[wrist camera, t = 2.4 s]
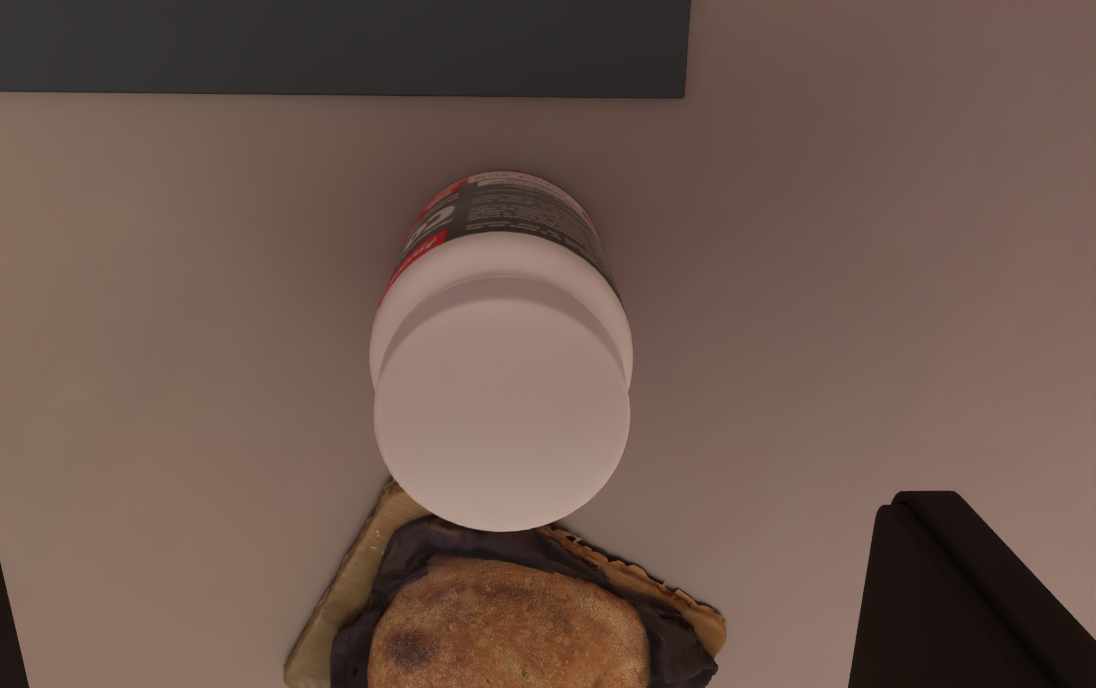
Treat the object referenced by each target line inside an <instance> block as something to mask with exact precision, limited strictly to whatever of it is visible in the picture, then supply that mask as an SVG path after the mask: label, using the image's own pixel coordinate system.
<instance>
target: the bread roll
mask: <svg viewBox="0 0 1096 688" xmlns="http://www.w3.org/2000/svg"><path fill="white" fill-rule="evenodd" d="M392 480H393V481H392V482H390V483H388V484H387V485H386V486H385V488H384V491H385V493H384V494H383V493H381V499H380V502H379V503H378V504H377V506H376V507H377V508H376V509H375V513H374V516H372V517H369V519H368V520H367V522H366V525H365V528H363V529H362V530H361V532H360V534H359V540H358V539H356V543H355V545H354V546H353V548H352V549H351V551H350V554H347V555H346V556H345V558H344V560H343V562H342V564H341V567H340V569H339V573H337V576H336V579H335V580H334V581H333V585H332V586H331V587H330V588H329V589H328V590H327V592H326V593H325V594H324V598H323V599H322V600H321V601H320V603H319V605H318V607H317V609H316V610H315V615H313V616H312V618H311V620H310V622H309V624H308V626H307V628H306V629H305V630H304V633H303V634H302V635H301V637H300V638H299V640H298V642H297V645H296V646H295V647H294V648H295V651H294V652H293V653H292V654H291V655H290V657H289V661H288V662H287V663H286V664H284V665H283V667H284V668H283V669H284V670H283V671H284V681H285V683H286V685H287V686H288V687H289V688H705V686H706V685H708V683H709V681H710V680H711V678H712V675H715V674H716V672H717V671H718V665H717V664H716V662H715V661H714V658H715V657H716V655H717V654H718V653H719V651H720V650H721V648H722V647H723V645H724V644H725V641H726V627H725V622H726V620H725V621H723V620H722V617H721V616H720V615H719V614H717V613H715V612H714V610H713V609H712V608H709V607H706V606H704V605H697V604H696V603H695V602H694V600H693V599H692V598H691V597H689V596H687V595H685V594H684V593H683V592H682V591H681V590H679V589H678V590H676V591H675V592H674V593H673V592H671V591H670V590H668V589H666V587H665V582H666V580H665V582H664V584H663V585H661V584H659V583H657V582H655V581H653V580H651V579H649V578H648V576H647V575H646V573H645V572H644V570H643V569H641V568H639V567H637V566H635V565H630V566H625V564H624V563H623V562H621V561H619V560H618V561H614V562H608V560H607V558H606V557H605V556H603V555H602V554H600V553H598V552H591V548H589V547H587V546H584V547H583V546H581V545H579V544H578V543H577V541H579V540H582V539H581V538H578V537H576V536H574V535H573V536H574V537H575V538H576V539H575V540H574V542H571V541H570V540H568V539H567V538H566V537H565V536H570V535H572V534H569V533H567V532H565V531H562V530H559V529H556V530H554V531H552V530H551V526H547V525H543V526H539V527H535V528H531V529H527V530H520V531H506V532H495V531H484V530H479V529H472V528H468V527H465V526H462V525H458V524H456V523H453V522H450V521H448V520H445V519H443V518H441V517H439V516H437V515H435V514H434V513H432V512H430V511H428V510H427V509H425V508H424V507H422V506H421V505H420V504H418V503H417V502H416V501H415V500H413V499H412V498H411V497H410V496H409V495H408V494H407V493H406V492H405V490H404V489H403V488H402V487H400V485H399V483H398V482H397V481H396V480H395V479H394V478H393V479H392Z"/></svg>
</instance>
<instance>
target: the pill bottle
mask: <svg viewBox="0 0 1096 688" xmlns="http://www.w3.org/2000/svg"><path fill="white" fill-rule="evenodd" d="M369 364H370V373H371V379H372V383H373V387H374V390H375V399H374V430H375V435H376V439H377V443H378V447H379V450H380V453H381V455H382V457H383V460H384V462H385V464H386V465H387V467H388V469H389V471H390V473H391V474H392V476H393V477H394V479H395V480H396V481H397V482H398V483H399V485H400V487H402V488H403V489H404V490H405V492H406V493H407V494H408V495H409V496H410V497H411V498H412V499H413V500H415V501H416V502H417V503H418V504H420V505H421V506H422V507H424V508H425V509H427V510H428V511H430V512H432V513H434V514H435V515H437V516H439V517H441V518H443V519H445V520H448V521H450V522H453V523H456V524H458V525H462V526H465V527H468V528H472V529H479V530H484V531H495V532H506V531H520V530H527V529H531V528H535V527H539V526H543V525H546V524H548V523H551V522H554V521H556V520H558V519H561V518H563V517H565V516H567V515H569V514H571V513H572V512H574V511H575V510H576V509H578V508H580V507H581V506H583V505H584V504H585V503H586V502H588V501H589V500H590V499H591V498H592V497H594V495H595V494H596V493H597V492H598V491H599V490H600V489H601V488H602V487H603V486H604V485H605V483H606V482H607V481H608V480H609V478H610V477H611V475H612V473H613V472H614V470H615V469H616V467H617V465H618V463H619V461H620V459H621V457H622V454H623V451H624V449H625V446H626V442H627V438H628V433H629V426H630V403H629V396H628V390H629V386H630V382H631V376H632V368H633V347H632V339H631V332H630V327H629V323H628V319H627V315H626V312H625V309H624V307H623V305H622V301H621V298H620V296H619V293H618V290H617V287H616V284H615V282H614V279H613V276H612V273H611V270H610V267H609V264H608V262H607V259H606V256H605V253H604V250H603V247H602V244H601V242H600V239H599V236H598V234H597V232H596V229H595V227H594V225H593V223H592V222H591V220H590V218H589V217H588V215H587V214H586V213H585V211H584V210H583V209H582V208H581V207H580V205H579V204H578V203H577V202H576V201H575V200H574V199H573V198H571V197H570V196H569V195H568V194H567V193H565V192H564V191H562V190H561V189H560V188H558V187H556V186H555V185H553V184H551V183H549V182H547V181H545V180H543V179H540V178H538V177H535V176H532V175H528V174H524V173H518V172H511V171H496V172H487V173H482V174H478V175H474V176H470V177H468V178H465V179H463V180H461V181H458V182H456V183H454V184H452V185H451V186H449V187H448V188H446V189H445V190H443V191H442V192H441V193H439V194H438V195H437V196H436V197H435V198H434V199H433V200H432V201H431V202H430V203H429V204H428V205H427V206H426V207H425V209H424V210H423V211H422V212H421V214H420V215H419V217H418V218H417V220H416V222H415V223H414V225H413V227H412V229H411V231H410V233H409V236H408V238H407V240H406V243H405V246H404V248H403V251H402V253H401V255H400V258H399V260H398V263H397V265H396V267H395V270H394V273H393V274H392V277H391V279H390V282H389V284H388V286H387V288H386V291H385V293H384V295H383V298H382V299H381V301H380V304H379V306H378V310H377V312H376V315H375V318H374V322H373V328H372V334H371V341H370V353H369Z"/></svg>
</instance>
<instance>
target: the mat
mask: <svg viewBox="0 0 1096 688" xmlns="http://www.w3.org/2000/svg"><path fill="white" fill-rule="evenodd" d="M690 4H691V0H0V92H94V93H190V94H287V95H383V96H479V97H576V98H672V99H682V98H684V96H685V81H686V66H687V50H688V35H689V19H690Z"/></svg>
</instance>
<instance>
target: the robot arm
mask: <svg viewBox="0 0 1096 688" xmlns="http://www.w3.org/2000/svg"><path fill="white" fill-rule="evenodd" d="M0 688H29V685H28V680H27V676H26V672H25V667H24V663H23V659H22V654H21V650H20V646H19V641H18V637H17V633H16V628H15V624H14V620H13V615H12V611H11V607H10V602H9V598H8V594H7V589H6V585H5V581H4V576H3V572H2V568H1V563H0ZM848 688H1096V640H1095V639H1094V638H1093V637H1092V636H1091V635H1090V634H1089V633H1088V632H1087V631H1086V630H1085V629H1084V627H1083V626H1082V625H1081V624H1080V623H1079V622H1078V621H1077V620H1076V619H1075V618H1074V617H1073V616H1072V615H1071V614H1070V613H1069V611H1068V610H1067V609H1066V608H1065V607H1064V606H1063V605H1062V604H1061V603H1060V602H1059V601H1058V600H1057V599H1056V598H1055V596H1054V595H1053V594H1052V593H1051V592H1050V591H1049V590H1048V589H1047V588H1046V587H1045V586H1044V585H1043V584H1042V583H1041V582H1040V580H1039V579H1038V578H1037V577H1036V576H1035V575H1034V574H1033V573H1032V572H1031V571H1030V570H1029V569H1028V568H1027V567H1026V565H1025V564H1024V563H1023V562H1022V561H1021V560H1020V559H1019V558H1018V557H1017V556H1016V555H1015V554H1014V553H1013V552H1012V550H1011V549H1010V548H1009V547H1008V546H1007V545H1006V544H1005V543H1004V542H1003V541H1002V540H1001V539H1000V538H999V537H998V536H997V534H996V533H995V532H994V531H993V530H992V529H991V528H990V527H989V526H988V525H987V524H986V523H985V522H984V521H983V519H982V518H981V517H980V516H979V515H978V514H977V513H976V512H975V511H974V510H973V509H972V508H971V507H970V506H969V505H968V503H967V502H966V501H965V500H964V499H963V498H962V497H961V496H960V495H959V494H957V493H956V492H955V491H900V492H899V493H897V494H896V495H895V497H894V499H893V500H892V503H891V505H882V506H881V507H880V508H879V509H878V511H877V514H876V518H875V524H874V530H873V536H872V542H871V548H870V555H869V561H868V567H867V573H866V579H865V586H864V592H863V598H862V604H861V611H860V617H859V623H858V629H857V635H856V642H855V648H854V654H853V660H852V666H851V673H850V679H849V685H848Z"/></svg>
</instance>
